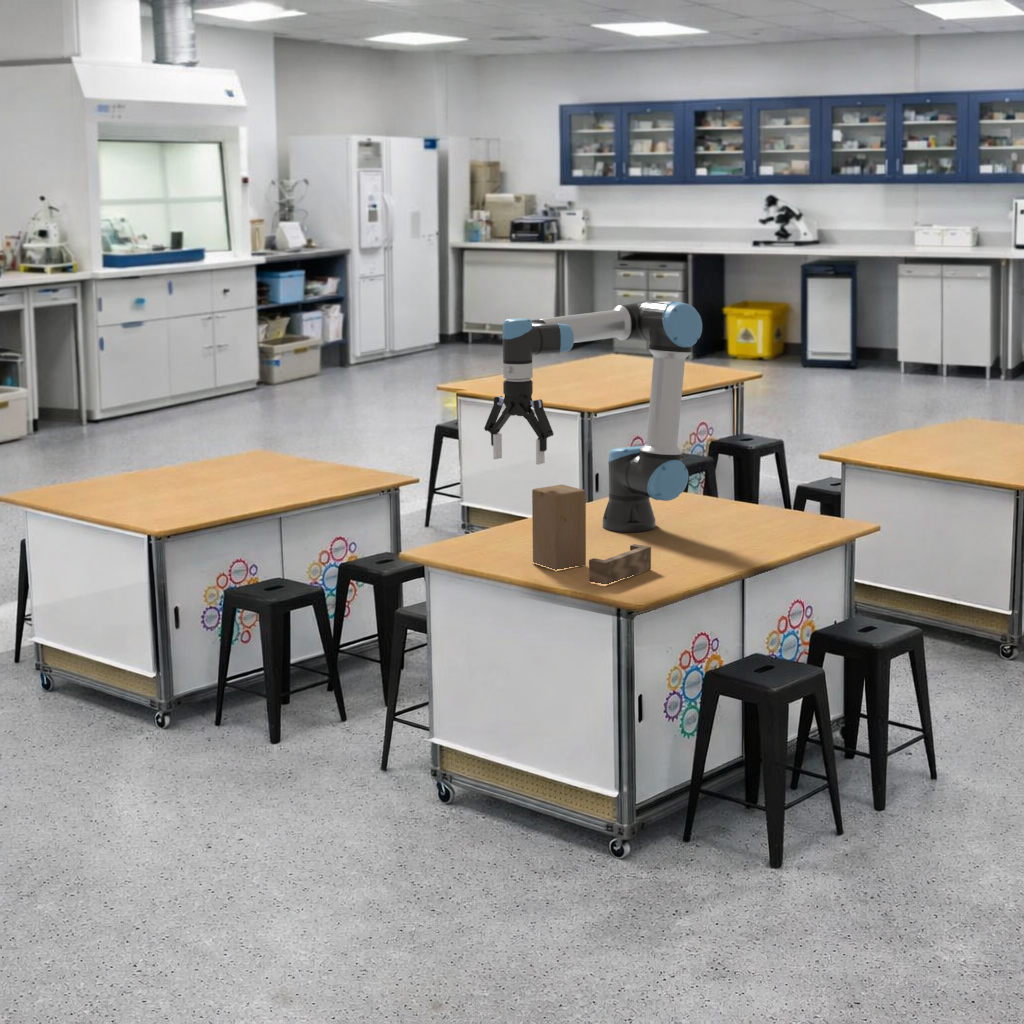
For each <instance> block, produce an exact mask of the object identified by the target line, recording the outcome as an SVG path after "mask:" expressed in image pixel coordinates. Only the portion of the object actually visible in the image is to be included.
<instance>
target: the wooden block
mask: <svg viewBox="0 0 1024 1024" xmlns="http://www.w3.org/2000/svg"><path fill="white" fill-rule="evenodd" d="M531 492H532V494H531V495H532V496H531V500H532V502H531V503H532V507H531V509H532V520H531V521H532V563H533V562H534V563H537V564H540V565H543V566H546V567H549V568H552V569H555V570H557V569H564V568H569V567H575V566H582V565H585V566H586V565H587V555H586V554H587V547H586V546H587V544H586V543H587V541H586V540H587V536H586V535H587V525H586V524H587V515H586V514H587V504H586V503H587V501H586V500H587V496H586V495H587V492H586V490H585V489H581V488H578V487H573V486H570V485H566V484H562V483H561V484H557V485H551V486H550V485H549V486H543V487H537V488H533V489H532V491H531ZM582 567H583V566H582Z"/></svg>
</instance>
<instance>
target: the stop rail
mask: <svg viewBox="0 0 1024 1024" xmlns="http://www.w3.org/2000/svg"><path fill="white" fill-rule="evenodd" d="M650 569H651V570H652V547H651V546H648V545H643V544H636V543H633V544H630V545H629V550H628V551H626V552H623V553H620V554H617V555H615V556H612V557H609V558H606V559H601V558H600V559H599V558H591V559H588V582H589V581H590V582H595V583H601V584H609V583H611V582H614V581H618V580H620V579H623V578H627V577H630V576H632V575H636V574H638V575H640V574H639V573H641V572H644V573H646V572H648V570H649V571H651V570H650ZM645 571H646V572H645ZM641 574H642V573H641ZM636 576H637V575H636ZM630 578H631V577H630Z"/></svg>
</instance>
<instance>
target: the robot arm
mask: <svg viewBox="0 0 1024 1024" xmlns="http://www.w3.org/2000/svg"><path fill="white" fill-rule="evenodd" d="M702 333H703V321H702V317H701V315H700V313H699V312H698V310H697V309H696V308H695V307H694V306H692V305H691V304H688V303H686V302H683V301H677V300H676V301H669V300H658V299H648V300H642V301H638V302H633V303H628V304H623V305H622V304H619V305H616V306H615V307H614V308H613V309H609V310H603V311H595V312H594V311H593V312H588V313H587V312H586V313H578V314H570V315H562V316H561V315H560V316H554V317H546V318H538V319H530V318H525V317H524V318H523V317H519V318H518V317H515V318H514V317H513V318H507V319H505V320H504V321H503V324H502V336H501V339H502V363H503V364H502V365H503V366H502V368H503V369H502V371H503V372H502V375H503V378H504V379H505V380H503V382H502V383H503V384H502V385H503V386H502V387H503V388H502V389H503V390H502V393H503V395H504V396H503V395H498V396H495V397H494V398H493V404H492V405H493V406H492V408H491V410H490V413H489V415H488V418H487V420H486V423H485V426H484V428H483V429H484V431H486V432H488V433H490V444H491V447H493V448H492V449H493V451H492V453H493V454H492V456H493V458H492V459H493V460H498V459H502V458H503V449H502V448H503V447H502V445H503V443H502V442H503V441H502V440H503V439H502V436H503V435H502V433H501V430H502V428H503V427H504V426H505V424H506V423H507V422H508V420H509V418H510V417H511V416H517V417H523V418H524V419H526V421H527V423H528V424H529V425H530V428H531V429H532V430H533V432H534V433H535V434H536V436H537V438H536V439H535V464H536V465H542V464H545V452H546V451H547V449H548V444H547V443H548V440H547V439H549V437H552V436H554V435H555V434H554V431H553V428H552V426H551V424H550V421H549V418H548V416H547V413H546V411H545V409H544V402H543V399H535V400H533V398H532V397H533V396H532V395H533V393H534V392H533V390H534V389H533V386H534V385H533V380H532V379H533V376H534V375H533V372H534V371H533V356H537V355H550V354H552V355H553V354H557V355H560V354H562V353H568V352H569V351H571V350H572V348H573V346H574V344H575V343H577V344H578V343H583V342H592V341H598V340H599V341H600V340H607V339H614V338H617V340H619V341H627V340H634V341H635V340H636V341H644V342H648V351H649V353H650V354H651V355H652V356H653V360H652V361H653V363H652V372H651V374H652V375H651V382H650V383H651V384H650V394H649V396H650V397H649V404H648V405H649V407H648V418H647V429H646V430H647V431H646V439H645V444H644V445H639V446H638V445H637V446H636V445H635V446H623V447H622V446H621V447H617V448H613V449H611V450H610V451H609V454H608V461H607V463H608V501H607V505H606V507H605V510H604V513H603V516H602V528H603V529H605V530H609V531H613V532H622V533H623V532H625V533H640V532H647V531H650V530H653V529H655V528H656V516H655V514H654V511H653V508H652V507H653V506H652V504H651V500H650V498H651V499H653V500H655V501H664V502H669V501H673V500H675V499H677V498H678V497H679V496H680V495H681V494H683V492H684V491H685V489H686V487H687V485H688V481H689V470H688V468H687V467H686V465H685V464H684V463H683V462H682V458H683V452H682V450H681V449H680V448H679V447H678V443H679V442H678V440H679V430H680V429H679V428H680V421H681V420H680V419H681V411H682V410H681V408H682V399H683V396H682V395H683V386H684V377H685V376H684V375H685V366H686V364H685V363H686V362H685V361H686V359H687V358H688V357H689V356H690V355H691V354H692V352H693V351H692V348H693V346H695V344H696V343H698V340H699V339H700V338H701V336H702ZM503 406H505V408H504V409H503V411H502V412H501V410H502V408H503ZM532 408H533V409H532ZM500 412H501V413H500ZM500 414H501V415H500Z"/></svg>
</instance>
